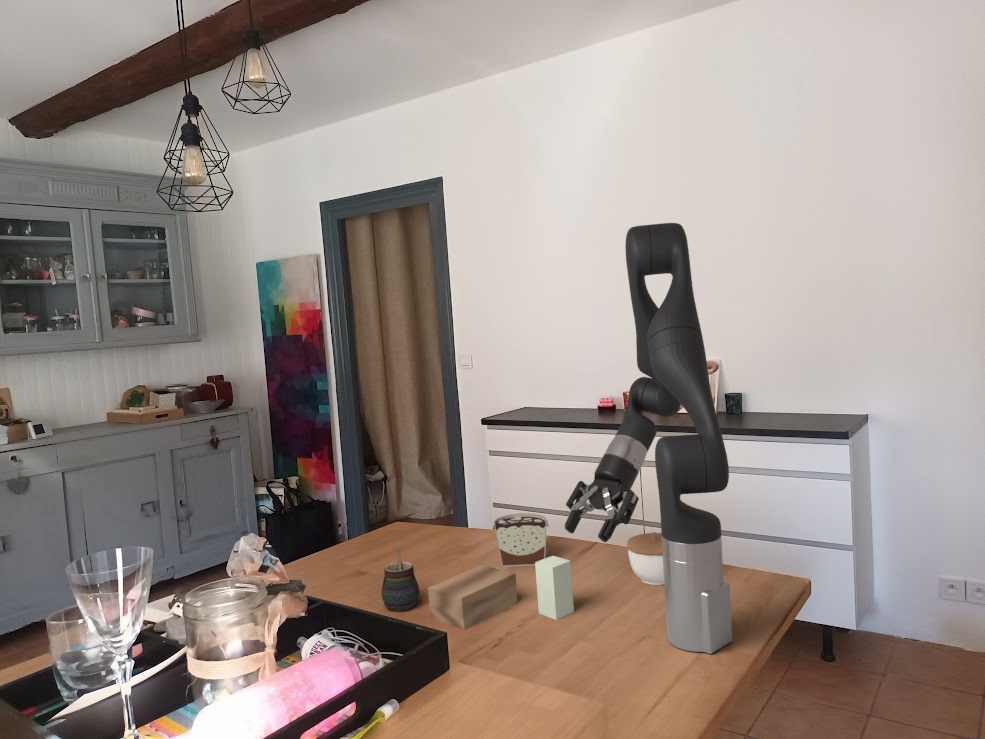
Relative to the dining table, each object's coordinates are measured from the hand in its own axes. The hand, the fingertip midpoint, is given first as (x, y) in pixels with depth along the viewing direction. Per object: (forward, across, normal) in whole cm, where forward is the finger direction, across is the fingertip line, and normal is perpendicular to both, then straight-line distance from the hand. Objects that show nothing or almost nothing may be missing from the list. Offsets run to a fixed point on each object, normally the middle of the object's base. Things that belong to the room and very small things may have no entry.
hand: (584, 535), depth 138 cm
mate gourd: (+27, -25, -10) cm, 38 cm away
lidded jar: (-2, +4, +20) cm, 20 cm away
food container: (+4, -25, +13) cm, 29 cm away
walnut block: (+21, -12, -4) cm, 25 cm away
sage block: (+15, 0, +2) cm, 15 cm away
